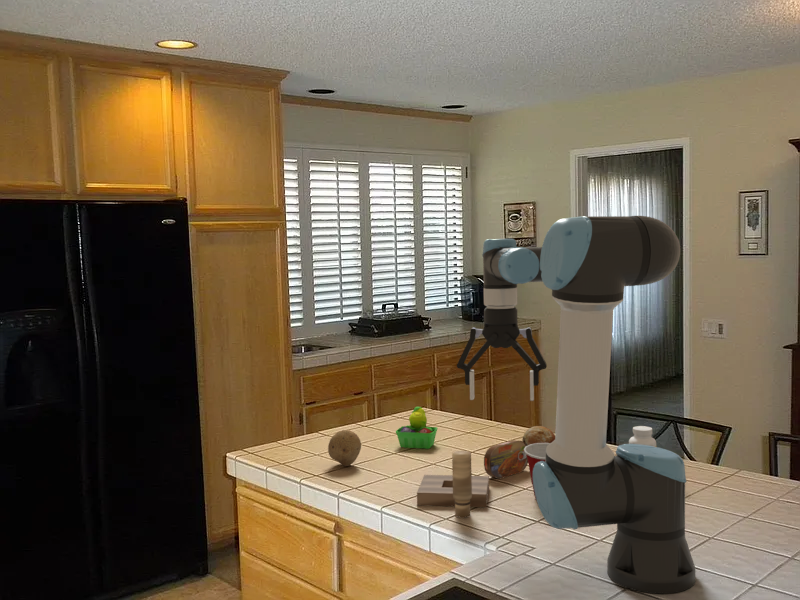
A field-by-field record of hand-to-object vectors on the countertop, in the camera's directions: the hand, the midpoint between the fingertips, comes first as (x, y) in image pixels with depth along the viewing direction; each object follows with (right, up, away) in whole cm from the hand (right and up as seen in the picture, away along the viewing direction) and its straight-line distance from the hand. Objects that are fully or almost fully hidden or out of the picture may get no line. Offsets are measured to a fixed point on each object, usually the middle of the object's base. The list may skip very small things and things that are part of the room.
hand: (502, 399), depth 180 cm
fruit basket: (-18, -21, +56) cm, 62 cm away
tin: (+4, -23, +25) cm, 34 cm away
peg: (-9, -25, -5) cm, 27 cm away
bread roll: (+18, -21, +51) cm, 58 cm away
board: (-10, -24, +8) cm, 27 cm away
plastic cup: (+11, -24, +5) cm, 27 cm away
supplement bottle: (+38, -22, +19) cm, 48 cm away
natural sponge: (-38, -23, +36) cm, 57 cm away
